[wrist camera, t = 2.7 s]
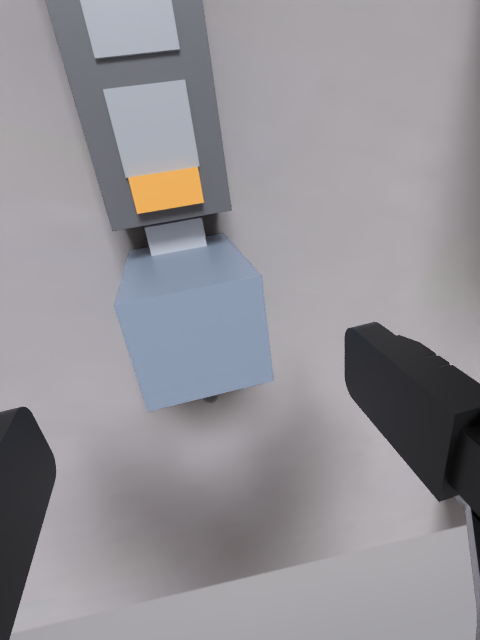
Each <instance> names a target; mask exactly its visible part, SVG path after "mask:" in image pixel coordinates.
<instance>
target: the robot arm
mask: <svg viewBox="0 0 480 640" xmlns="http://www.w3.org/2000/svg"><path fill="white" fill-rule="evenodd" d="M345 382H346V386H347V389H348V391H349V394H350V395H351V397H352V399H353V400H354V401H355V402H356V404H357V405H358V406H359V407H360V408H361V409H362V411H363V412H364V413H365V414H366V415H367V417H368V418H369V419H370V420H371V421H372V423H373V424H374V425H375V426H376V427H377V429H378V430H379V431H380V432H381V433H382V434H383V436H384V437H385V438H386V439H387V440H388V442H389V443H390V444H391V445H392V446H393V448H394V449H395V450H396V451H397V452H398V454H399V455H400V456H401V457H402V458H403V459H404V461H405V462H406V463H407V464H408V465H409V467H410V468H411V469H412V470H413V471H414V473H415V474H416V475H417V476H418V477H419V479H420V480H421V481H422V482H423V483H424V484H425V486H426V487H427V488H428V489H429V490H430V492H431V493H432V494H433V495H434V496H435V498H436V499H437V500H438V501H439V502H440V501H443V500H446V499H449V498H452V497H454V498H455V499H456V500H457V501H458V502H459V503H460V505H461V506H462V507H463V508H464V510H465V511H466V522H467V531H468V539H469V547H470V556H471V563H472V573H473V581H474V590H475V598H476V607H477V631H476V640H480V384H479V383H478V382H477V381H475V380H474V379H472V378H471V377H469V376H468V375H466V374H465V373H463V372H462V371H461V370H459V369H458V368H456V367H455V366H453V365H451V366H450V364H449V362H447V361H446V360H445V359H443V358H442V357H440V356H436V353H434V352H433V351H431V350H430V349H429V348H427V347H426V346H424V345H423V344H421V343H420V342H417V341H414V340H411V339H409V338H406V337H403V336H400V335H398V336H396V335H394V334H393V333H392V332H390V331H389V330H388V329H386V328H385V327H383V326H382V325H381V324H379V323H377V322H372V323H368V324H364V325H360V326H356V327H352V328H348V329H347V330H346V333H345ZM55 478H56V464H55V459H54V455H53V453H52V451H51V449H50V447H49V445H48V443H47V441H46V439H45V437H44V435H43V434H42V432H41V430H40V428H39V426H38V424H37V422H36V420H35V418H34V416H33V414H32V413H31V411H30V410H29V409H28V408H26V407H19V408H15V409H11V410H7V411H3V412H0V640H9V639H10V635H11V632H12V628H13V625H14V621H15V618H16V614H17V611H18V607H19V604H20V600H21V597H22V593H23V590H24V587H25V583H26V580H27V576H28V573H29V569H30V566H31V562H32V559H33V555H34V552H35V548H36V545H37V541H38V538H39V534H40V531H41V527H42V524H43V521H44V517H45V514H46V510H47V507H48V503H49V500H50V496H51V493H52V489H53V486H54V482H55Z"/></svg>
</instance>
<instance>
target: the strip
mask: <svg viewBox="0 0 480 640" xmlns="http://www.w3.org/2000/svg"><path fill="white" fill-rule="evenodd" d="M45 1H46V4H47V8H48V11H49V15H50V18H51V22H52V25H53V29H54V32H55V35H56V39H57V42H58V46H59V49H60V53H61V56H62V59H63V63H64V66H65V70H66V73H67V77H68V80H69V83H70V87H71V90H72V94H73V97H74V101H75V104H76V107H77V111H78V114H79V118H80V121H81V125H82V128H83V132H84V135H85V138H86V142H87V145H88V149H89V152H90V156H91V159H92V162H93V166H94V169H95V173H96V176H97V180H98V183H99V186H100V190H101V193H102V197H103V200H104V204H105V207H106V211H107V214H108V217H109V221H110V224H111V228H112V231H116V230H122V229H128V228H134V227H139V226H145V225H151V224H157V223H162V222H168V221H174V220H179V219H185V218H191V217H197V216H202V215H208V214H214V213H220V212H225V211H231V210H232V209H231V202H230V194H229V187H228V180H227V173H226V166H225V159H224V152H223V144H222V137H221V130H220V123H219V116H218V109H217V102H216V94H215V87H214V80H213V73H212V66H211V59H210V52H209V44H208V37H207V30H206V23H205V16H204V9H203V1H202V0H45Z"/></svg>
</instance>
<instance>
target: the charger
mask: <svg viewBox="0 0 480 640" xmlns="http://www.w3.org/2000/svg"><path fill="white" fill-rule="evenodd" d="M144 228H145V232H146V236H147V240H148V244H149V247H146V248H141V249H135V250H130V251H129V254H128V257H127V261H126V264H125V268H124V271H123V275H122V278H121V282H120V285H119V289H118V292H117V296H116V299H115V303H114V308H115V311H116V314H117V317H118V320H119V323H120V326H121V330H122V333H123V336H124V339H125V342H126V345H127V348H128V351H129V355H130V358H131V361H132V364H133V367H134V370H135V373H136V377H137V380H138V383H139V386H140V389H141V392H142V395H143V398H144V402H145V405H146V408H147V411H148V412H149V411H153V410H157V409H161V408H165V407H169V406H173V405H178V404H182V403H186V402H190V401H194V400H198V399H202V398H203V400H204V401H205V402H207V403H212V402H214V401H216V399H217V398H218V394H222V393H226V392H230V391H234V390H238V389H242V388H246V387H250V386H255V385H259V384H263V383H267V382H271V381H274V379H273V370H272V361H271V353H270V344H269V335H268V326H267V317H266V308H265V299H264V290H263V281H262V275H261V274H260V273H259V272H258V271H257V270H256V269H255V267H254V266H253V265H252V264H251V263H250V262H249V261H248V260H247V259H246V258H245V257H244V256H243V254H242V253H241V252H240V251H239V250H238V249H237V248H236V247H235V246H234V245H233V244H232V243H231V241H230V240H229V239H228V238H227V237H226V236H225V235H224V234H217V235H212V236H206V237H205V232H204V226H203V221H202V217H201V216H197V217H191V218H185V219H179V220H174V221H168V222H162V223H157V224H151V225H145V227H144Z"/></svg>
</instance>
